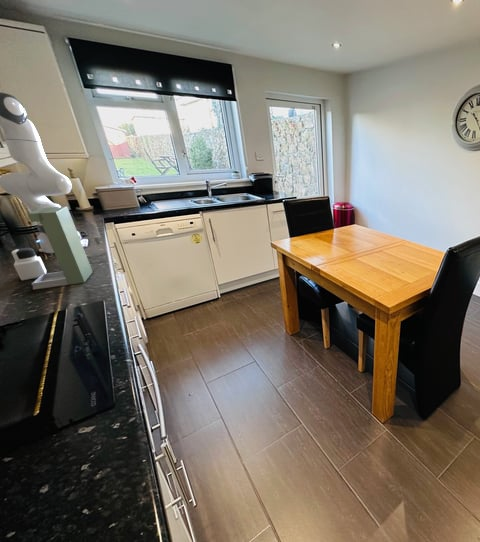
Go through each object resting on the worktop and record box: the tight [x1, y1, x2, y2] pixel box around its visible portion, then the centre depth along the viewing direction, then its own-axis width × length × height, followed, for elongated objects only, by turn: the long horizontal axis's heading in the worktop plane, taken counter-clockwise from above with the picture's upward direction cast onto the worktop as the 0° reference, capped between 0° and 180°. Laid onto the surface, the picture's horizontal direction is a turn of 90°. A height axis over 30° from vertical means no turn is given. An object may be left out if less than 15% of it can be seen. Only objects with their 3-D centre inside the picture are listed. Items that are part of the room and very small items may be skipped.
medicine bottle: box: [11, 247, 47, 281], centre depth 117 cm, size 7×7×12 cm
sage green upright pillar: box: [27, 206, 93, 291], centre depth 111 cm, size 12×15×29 cm
